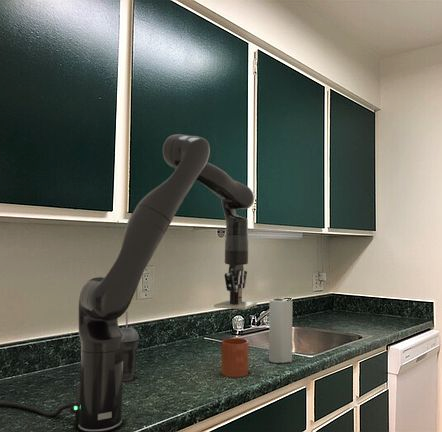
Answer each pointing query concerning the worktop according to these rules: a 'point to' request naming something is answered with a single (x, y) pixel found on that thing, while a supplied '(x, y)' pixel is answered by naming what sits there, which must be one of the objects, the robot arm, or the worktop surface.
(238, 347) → the tumbler
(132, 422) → the worktop surface
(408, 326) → the worktop surface
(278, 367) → the worktop surface
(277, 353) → the paper towel roll
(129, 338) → the beverage cup
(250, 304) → the lid
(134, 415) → the worktop surface
